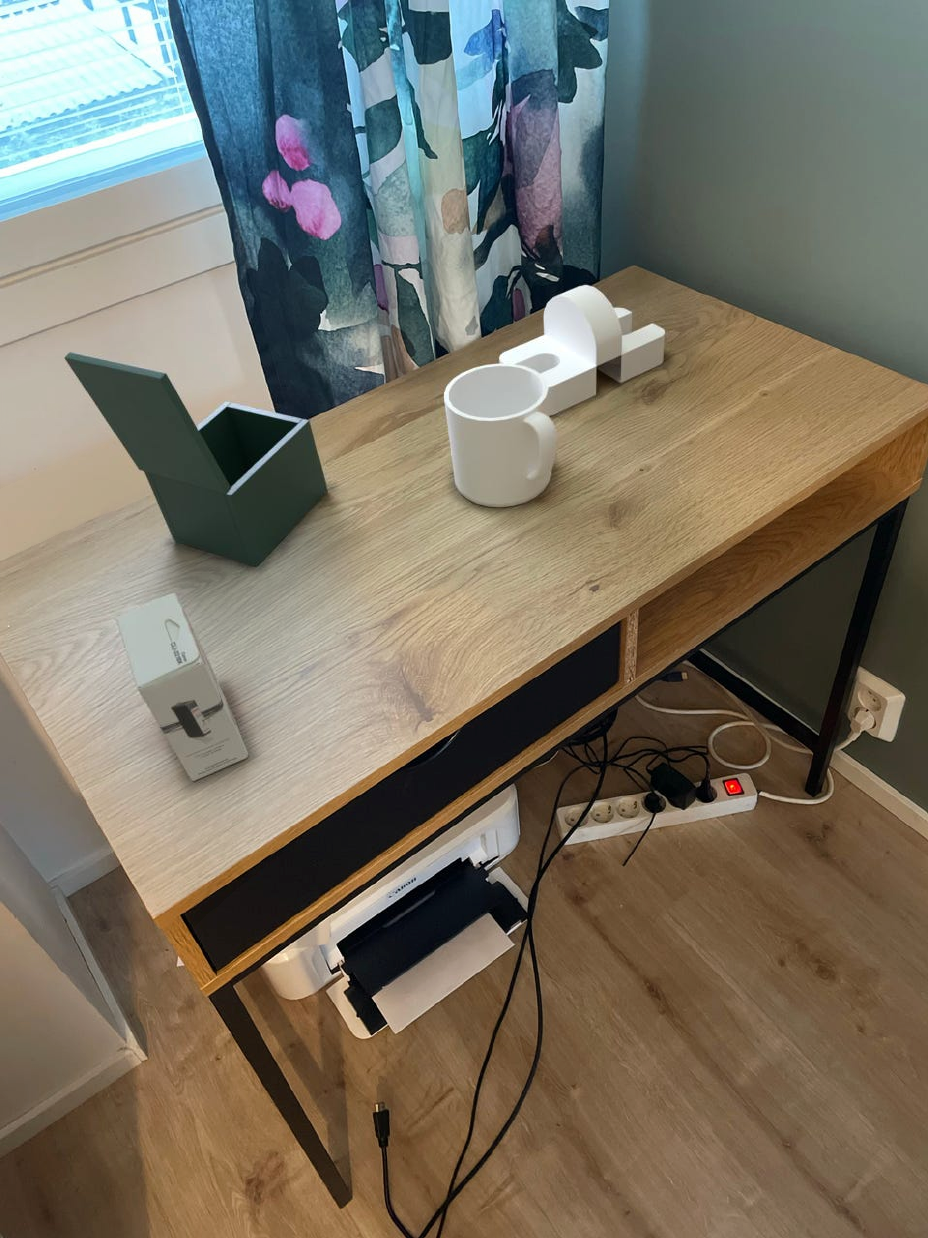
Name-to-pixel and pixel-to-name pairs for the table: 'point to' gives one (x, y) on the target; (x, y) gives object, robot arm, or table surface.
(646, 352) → the slotted bracket
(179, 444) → the lid
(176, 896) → the table surface
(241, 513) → the chest
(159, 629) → the ink box
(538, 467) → the mug
